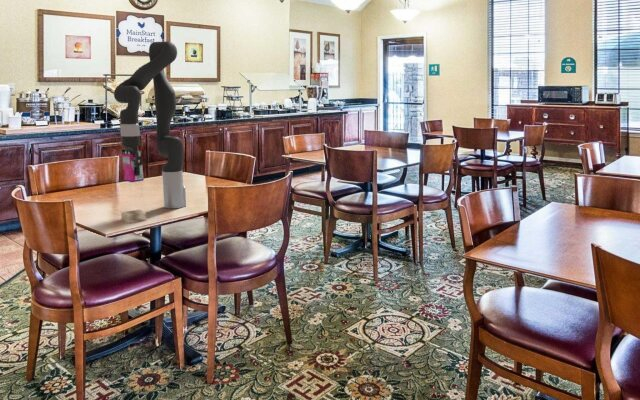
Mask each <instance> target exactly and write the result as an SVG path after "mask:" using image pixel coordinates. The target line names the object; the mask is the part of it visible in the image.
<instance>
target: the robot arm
mask: <svg viewBox="0 0 640 400" xmlns="http://www.w3.org/2000/svg"><path fill="white" fill-rule="evenodd" d="M148 55H149V56H148V57H149V61H148V62H147V63H145V64H143V65H141V66H140V67H138V68H137V69H136V71H134V72H133V74H132V75H130V77H128V78H127V79H125V80H124V81H122V82H120V83H119V84H118V85H117V86H116V87H115V89H114V91H113V98H114V99H115V101H116V102H118V103H120V104H127V106H126V108H125V109H121V110H120V111H119V117H120V119H119V120H120V122H119V123H120V130H119V131H120V140H121V142H120V143H121V147H124V148H122V149H121V155H122V154H129V155H133V157H135V159H133V158H132V162H133V165H134V175H135V176H139V175H140V167H139V166H141V165H142V166H143V151H142V150H139V149H138V147H140V146H141V131H140V123H139V109H140V105H141V100H142V94H141V92H142V91H143V90H145V89H146V87H148V85H149V83H151V81H152V80H153V81H152V82H153V90H154V91H153V92H154V94H153V95H154V107H155V117H156V118H155V119H156V140H155V141H156V150H157V152H158V154H159V155H161V156H163V157H167V162H166V163H163V164H162V166H161V175H162V192H163V207H164V208H165V209H180V208H184V207H186V206H187V197H186V196H187V195H186V186H185V185H184V177H183V176H184V175H183V167H184V157H185V155H184V143H183V141H182V138H180V137H178V136H171V124H172V123H171V122H172V120H173V117H174V115H175V113H176V109H177V101H176V100H177V99H176V93H175V92H176V91H175V89H174V88H173V86H172V84H171V83H170V81H169V80H168V77H167V76H166V73H165V69H166V68H167V67H168V66H169V65H171V64H172V63H173V62H174V61H175V60H176V59H177V56H178V49H177V46H176V45H175V44H174V43H173V42H171V41H167V40H166V41H153V42H152V43H150V45H149V47H148ZM139 160H140V162H139Z"/></svg>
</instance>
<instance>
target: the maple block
mask: <svg viewBox="0 0 640 400" xmlns="http://www.w3.org/2000/svg"><path fill="white" fill-rule="evenodd" d="M120 212H121V213H120V214H121V220H122V221H123V222H125V223H126V224H129V223H130V224H131V223H137V222H138V223H139V222H143V221H147V212H145V211H143V210H141V209H134V210H133V209H132V210H127V211H120Z"/></svg>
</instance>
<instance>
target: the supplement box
mask: <svg viewBox="0 0 640 400" xmlns="http://www.w3.org/2000/svg"><path fill="white" fill-rule="evenodd" d="M121 157H122V167H123V179H124V182H129V183H136V182H141V181H144V170H143V168H144V167H143V164H142V165H141V166H139V167H140V175H139V176H135V175H134V165H133V162H132V158H133V159H135V157H133V155H129V154H122V153H121ZM139 162H140V160H139Z"/></svg>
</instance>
